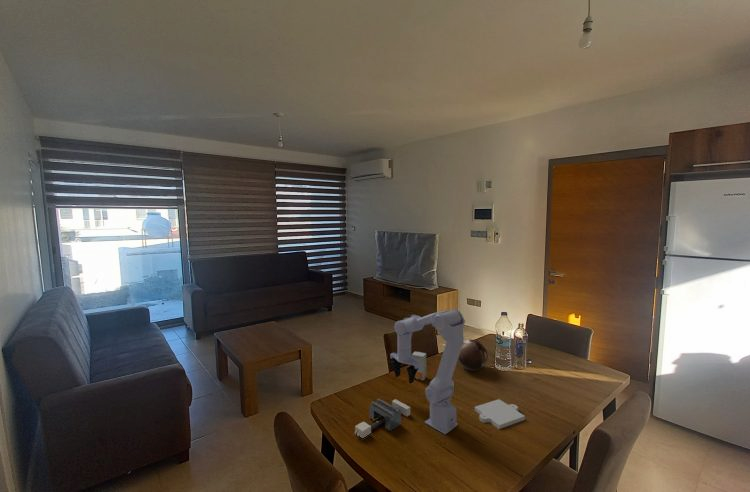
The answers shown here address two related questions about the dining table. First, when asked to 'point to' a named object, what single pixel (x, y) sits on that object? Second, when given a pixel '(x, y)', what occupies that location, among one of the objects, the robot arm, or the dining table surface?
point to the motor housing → (385, 413)
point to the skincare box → (420, 364)
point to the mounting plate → (499, 413)
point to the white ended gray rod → (365, 429)
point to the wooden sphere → (473, 355)
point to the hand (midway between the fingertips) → (404, 379)
